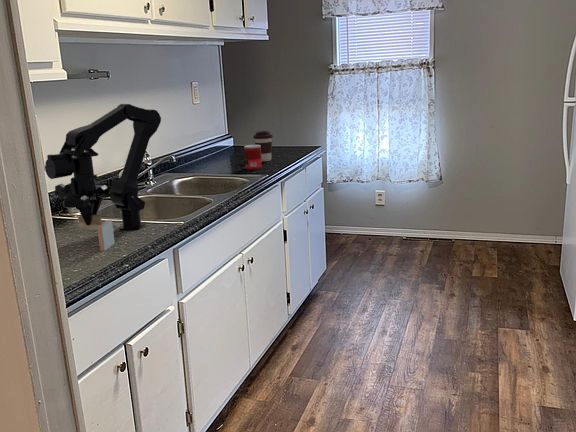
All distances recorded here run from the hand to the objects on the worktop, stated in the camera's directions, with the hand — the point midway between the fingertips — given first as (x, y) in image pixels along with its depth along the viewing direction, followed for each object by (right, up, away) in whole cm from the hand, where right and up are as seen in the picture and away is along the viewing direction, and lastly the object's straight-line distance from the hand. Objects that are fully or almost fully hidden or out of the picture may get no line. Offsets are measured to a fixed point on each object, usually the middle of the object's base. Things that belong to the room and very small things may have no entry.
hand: (90, 223), depth 177 cm
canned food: (+43, +25, +107) cm, 118 cm away
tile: (+7, -7, -7) cm, 12 cm away
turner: (+2, -1, 0) cm, 3 cm away
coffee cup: (+47, +31, +128) cm, 140 cm away
